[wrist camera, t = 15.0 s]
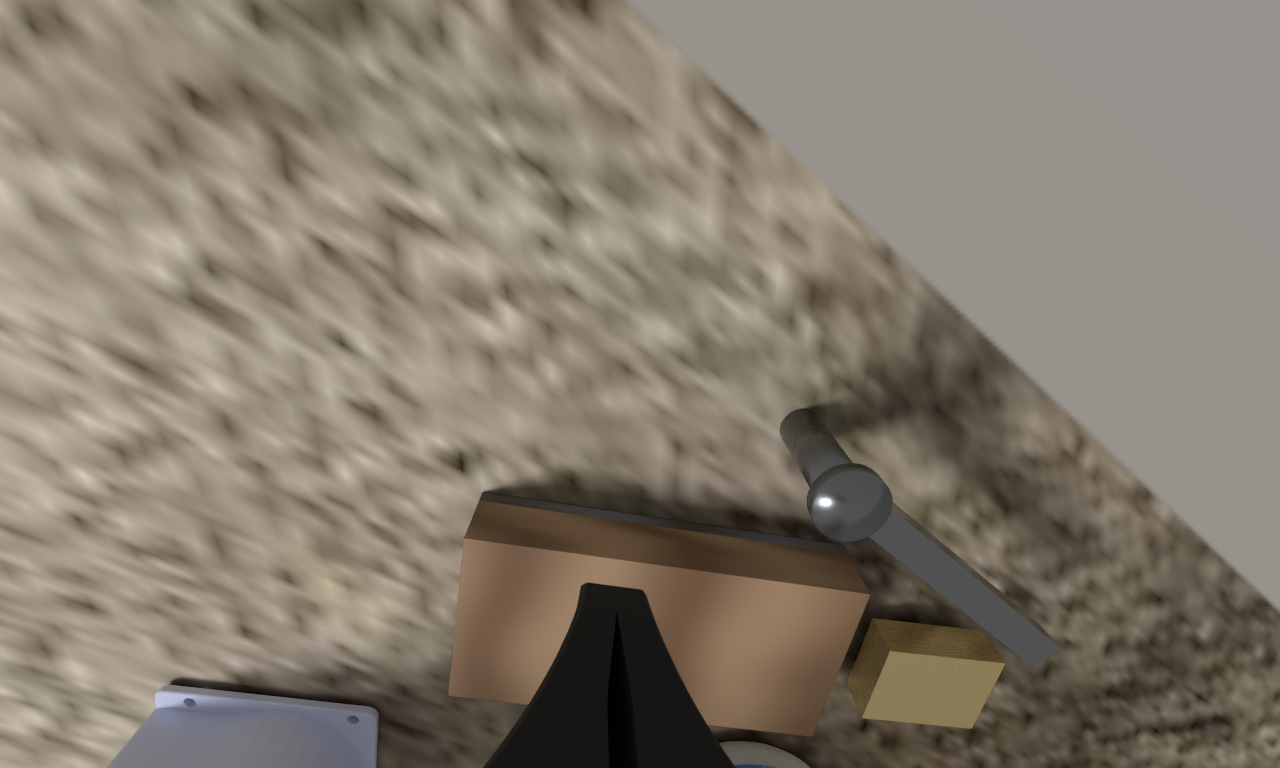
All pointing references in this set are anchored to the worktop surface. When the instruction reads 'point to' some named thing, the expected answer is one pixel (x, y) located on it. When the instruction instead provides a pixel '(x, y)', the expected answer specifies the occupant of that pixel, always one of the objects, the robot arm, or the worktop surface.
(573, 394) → the worktop surface
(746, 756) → the supplement tub
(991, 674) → the yellow rectangular block
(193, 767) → the robot arm
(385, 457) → the worktop surface
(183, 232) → the worktop surface
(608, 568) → the body
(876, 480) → the lever
